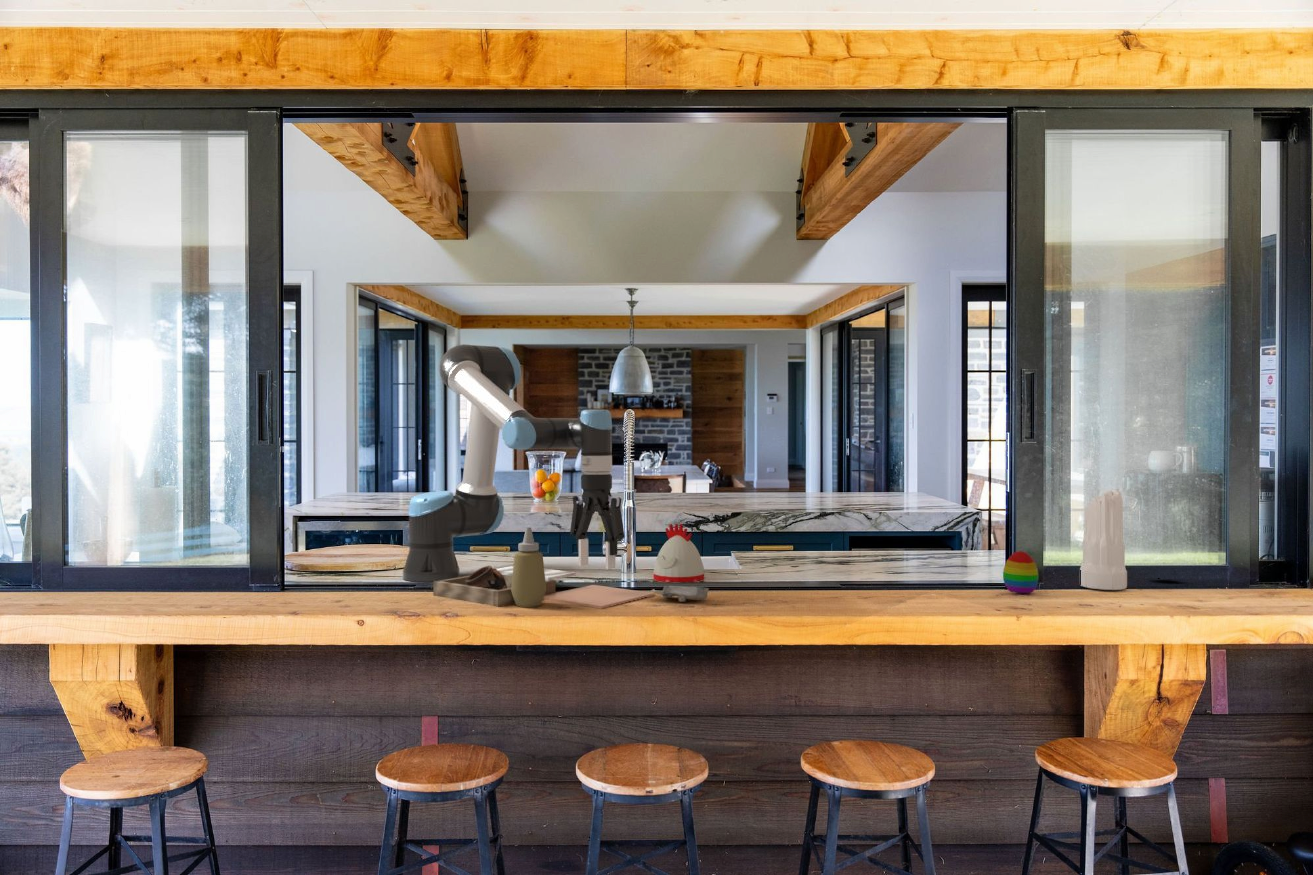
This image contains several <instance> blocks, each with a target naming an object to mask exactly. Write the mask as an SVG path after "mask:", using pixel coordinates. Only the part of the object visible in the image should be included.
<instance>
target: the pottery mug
mask: <svg viewBox="0 0 1313 875" xmlns="http://www.w3.org/2000/svg"><path fill="white" fill-rule="evenodd" d="M497 569H498V568H495V567H494V568H493V567H492V566H491V565H486V566H483V567H481V568H478V569H477V570H476V571H473V573H472V574H470V575H468V576H469V577H468V579H467V580H466V581H465V582H466V583H467V585H468V586H475V587H482V588H486V587H484V580H487V582H488V583H489V586H490V587H489V589H494V590H501V589H506V588H507V585H506V581H505V579H504V577H503V576H502V574H501V573H500V572H499V571H498V570H497Z"/></svg>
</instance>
